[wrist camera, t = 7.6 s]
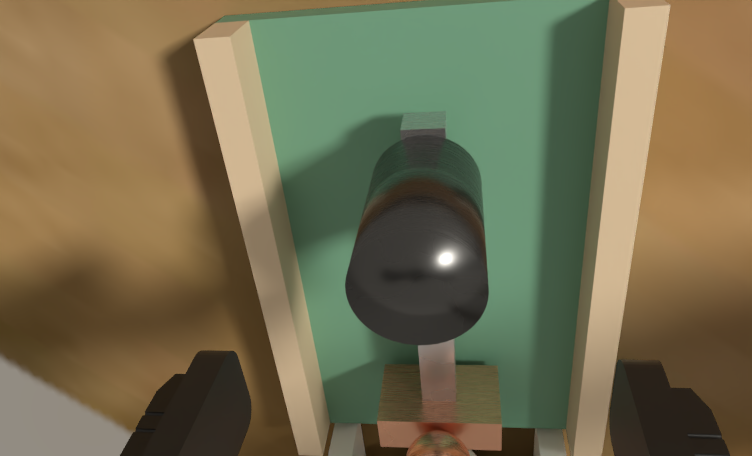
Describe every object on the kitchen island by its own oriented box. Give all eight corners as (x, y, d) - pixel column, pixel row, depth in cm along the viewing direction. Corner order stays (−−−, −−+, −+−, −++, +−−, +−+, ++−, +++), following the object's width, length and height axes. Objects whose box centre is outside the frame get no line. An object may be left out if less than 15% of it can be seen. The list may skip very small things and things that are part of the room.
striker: (500, 100, 20) (520, 222, 14) (497, 398, 28) (508, 567, 21) (353, 108, 21) (306, 226, 15) (388, 396, 28) (368, 558, 22)
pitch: (642, -17, 19) (670, 5, 17) (588, 413, 30) (600, 465, 27) (224, 16, 21) (193, 39, 19) (311, 406, 32) (298, 455, 29)
